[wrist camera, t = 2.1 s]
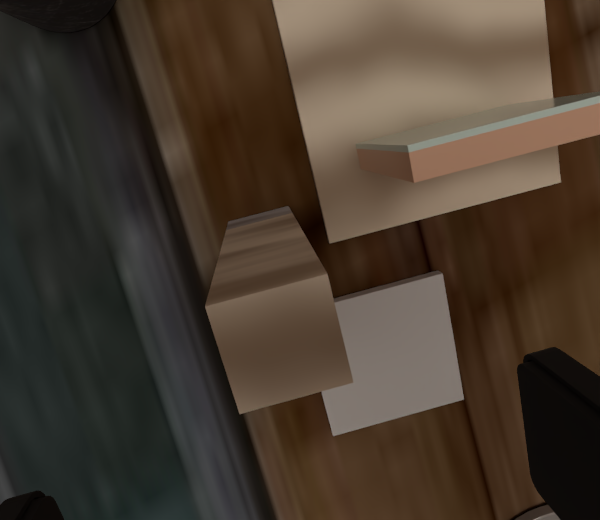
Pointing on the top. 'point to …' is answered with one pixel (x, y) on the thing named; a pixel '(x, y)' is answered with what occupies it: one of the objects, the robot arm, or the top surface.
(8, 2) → the travel mug
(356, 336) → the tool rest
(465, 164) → the tile
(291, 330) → the wooden block
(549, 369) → the robot arm
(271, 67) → the top surface
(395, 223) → the oak board
